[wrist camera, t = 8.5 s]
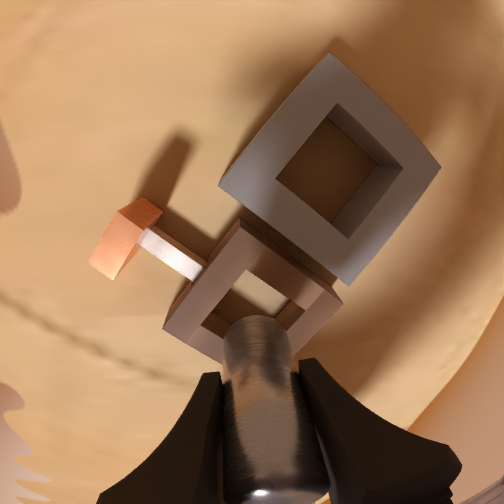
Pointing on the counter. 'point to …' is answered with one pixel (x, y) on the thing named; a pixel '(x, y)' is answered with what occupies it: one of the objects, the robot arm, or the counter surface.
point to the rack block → (368, 194)
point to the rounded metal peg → (267, 420)
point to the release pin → (142, 242)
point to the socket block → (264, 267)
